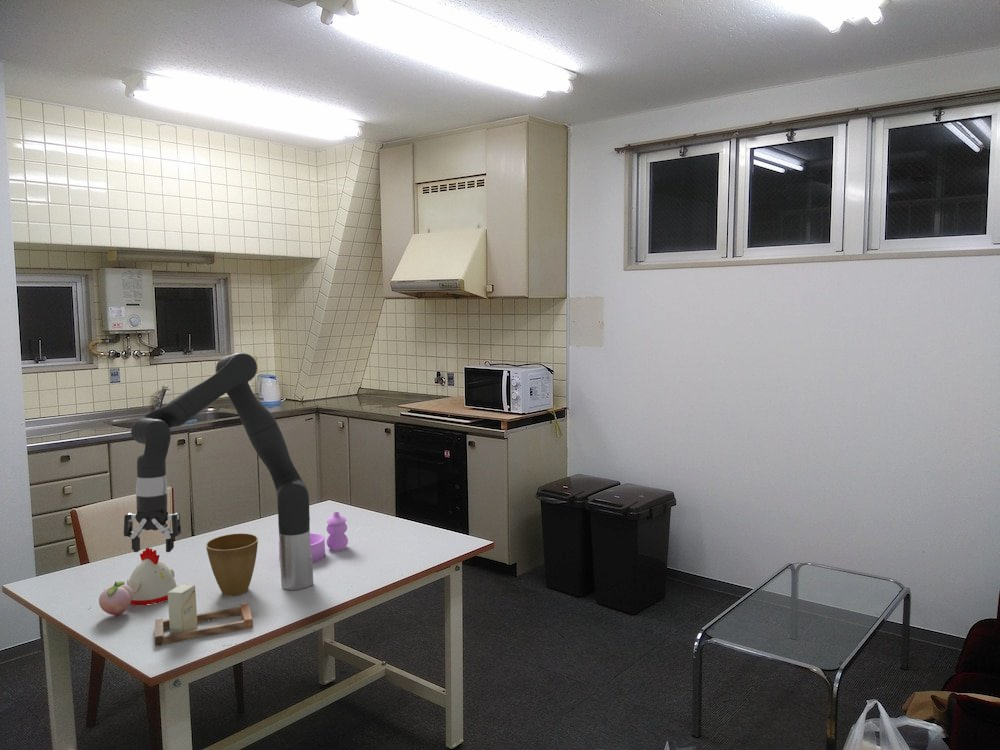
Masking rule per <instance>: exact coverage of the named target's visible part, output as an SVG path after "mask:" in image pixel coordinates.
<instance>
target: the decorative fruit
mask: <svg viewBox="0 0 1000 750" xmlns="http://www.w3.org/2000/svg"><path fill="white" fill-rule="evenodd" d="M132 597H133V591H132V589H131V588H130V587H129V586H128V585H127V583H126V582H125V581H122V580H119V581H114V584H111V585H108V586H107V587H106V588H103V590H102V591H101V593H100V594H99V597H98V604H99V607H100V608H101V610H102V611H103V612H105V613H106V614H108V615H112V616H116V617H117V616H121V615H122V614H123V613H125V611H126V610H127V609H128V608H129V606H131V605H130V603H131V600H132Z"/></svg>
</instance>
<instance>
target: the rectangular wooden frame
mask: <svg viewBox="0 0 1000 750" xmlns="http://www.w3.org/2000/svg"><path fill="white" fill-rule="evenodd" d="M236 616H241V619H242V620H239V621H233V622H232V621H231V622H227V623H223V624H217V625H211V626H206V627H201V628H197V629H194V630H189V631H184V632H178V633H173V634H170V633H169V634H165V633H164V630H165V629H164V628H166V629H170V623H169V618H168V619H167V618H166V619H164V618H162V617H161V618H157V619H154V646H155V647H157V645H159V646H163V645H162V644H164V645H168V644H167V643H169V644H173V642H175V643H180V642H184V640H185V641H190V640H194V639H200V637H201V638H205V636H206V637H210V636H217V635H220V634H226V633H231V632H237V631H242V630H248V629H253V628H254V626H253V616H252V613H251V609H250V606H249V604H248V603H242V604H240V606H234V607H230V608H225V609H224V608H223V609H218V610H212V611H207V612H201V613H197V622H199V623H204V622H208V620H210V621H215V620H221V619H225V618H226V619H227V618H231V617H236ZM213 619H214V620H213ZM203 621H204V622H203ZM189 639H190V640H189ZM179 641H180V642H179Z"/></svg>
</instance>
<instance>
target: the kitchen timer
mask: <svg viewBox="0 0 1000 750" xmlns="http://www.w3.org/2000/svg"><path fill="white" fill-rule="evenodd" d="M139 556H140V559H141V561H140V562H139V563H138V564H137V565H136V566H135V568H134V569H133V570H132V572H131V574H130V576H129V579H126V585H128V586H129V587H130V588H131V589H132V591H133V597H132V600H131V603H130V604H132V606H135V605H145V606H148V605H147V604H153V605H155V604H154V603H158V604H160V603H159V602H161V603H163V602H162V601H164V602H166V601H165V600H167V601H168V592H169V591H170V590H172V589H174V588H175V587H177V583H176V579H175V571H174V569H173V568H169V567H168V566H167V564H166V563H165V562H163V561H162V560H160V556H161V555H160V554H157V550H156V549H154V550H153V548H152V547H151V548H150V547H146V548H145V549H144V550H143V551H142V552H141V553H139Z"/></svg>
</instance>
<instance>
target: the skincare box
mask: <svg viewBox="0 0 1000 750" xmlns="http://www.w3.org/2000/svg"><path fill="white" fill-rule="evenodd" d="M176 586H177V585H176ZM167 604H168V606H167V607H168V619H169V623H170V628H169V634H173V633H178V632H184V631H189V630H194V629H196V628H197V629H199V628H198V623H197V614H198V613H197V612H198V611H197V594H196V585H195V584H187V583H185V584H184V583H181V584H179V585H178V586H177V587H175V588H174V589H172V590H170V591H169V592H168V600H167Z"/></svg>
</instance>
